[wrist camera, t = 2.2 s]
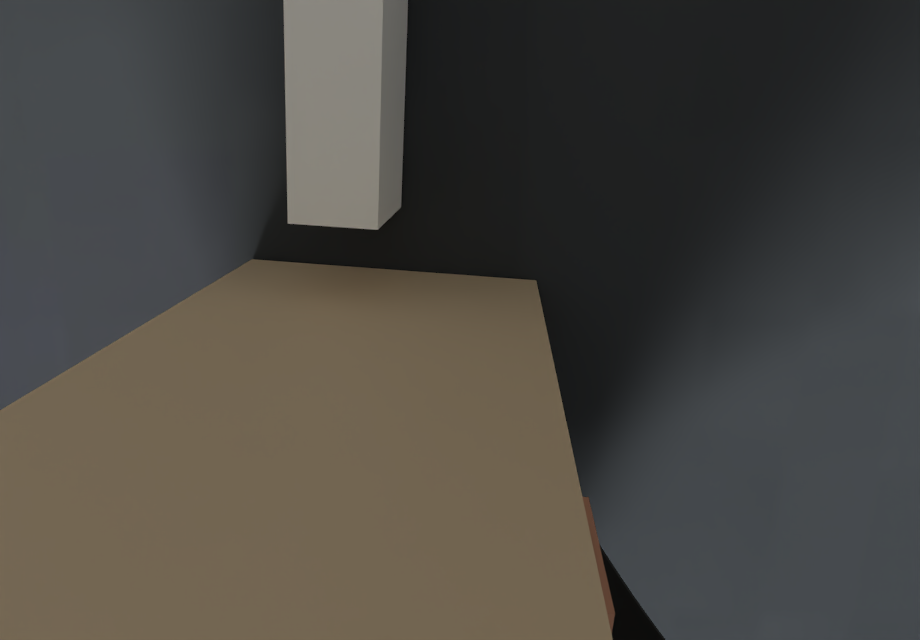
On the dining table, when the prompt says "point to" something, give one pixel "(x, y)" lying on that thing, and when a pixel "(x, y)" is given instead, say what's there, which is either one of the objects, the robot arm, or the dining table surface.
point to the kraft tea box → (305, 471)
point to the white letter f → (344, 110)
